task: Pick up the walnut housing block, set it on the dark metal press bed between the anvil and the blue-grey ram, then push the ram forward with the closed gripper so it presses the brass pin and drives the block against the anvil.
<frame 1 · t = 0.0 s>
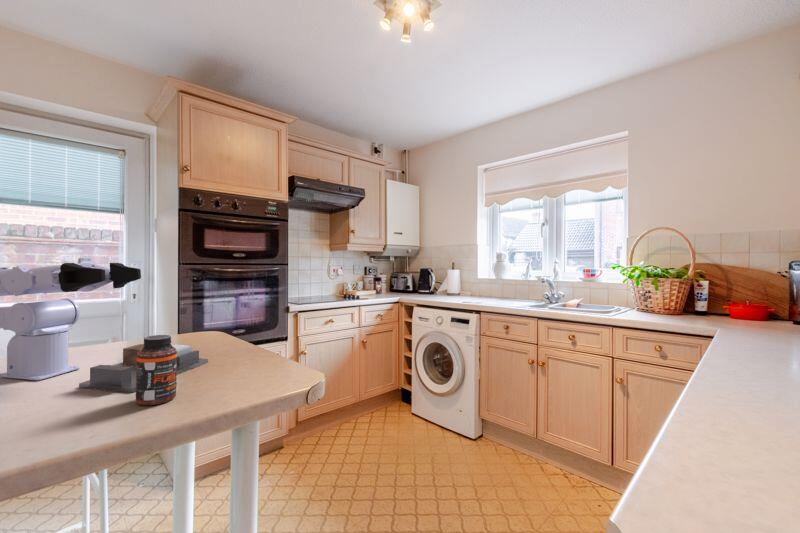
hand: (122, 274, 71), 22 cm above the table, tool horizontal, fingers open, 7 cm apart
ram: (175, 353, 82), point 3 cm above the table, slide at 0.0 cm
housing: (139, 363, 83), on the table
supplement bottle: (156, 401, 62), on the table
press: (151, 373, 76), on the table
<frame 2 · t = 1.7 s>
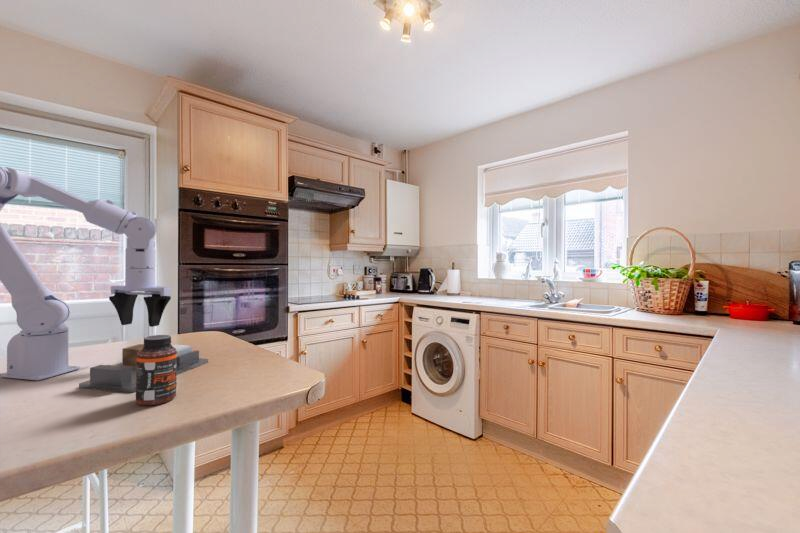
hand: (140, 325, 83), 9 cm above the table, tool pointing down, fingers open, 7 cm apart
nothing on the table moved.
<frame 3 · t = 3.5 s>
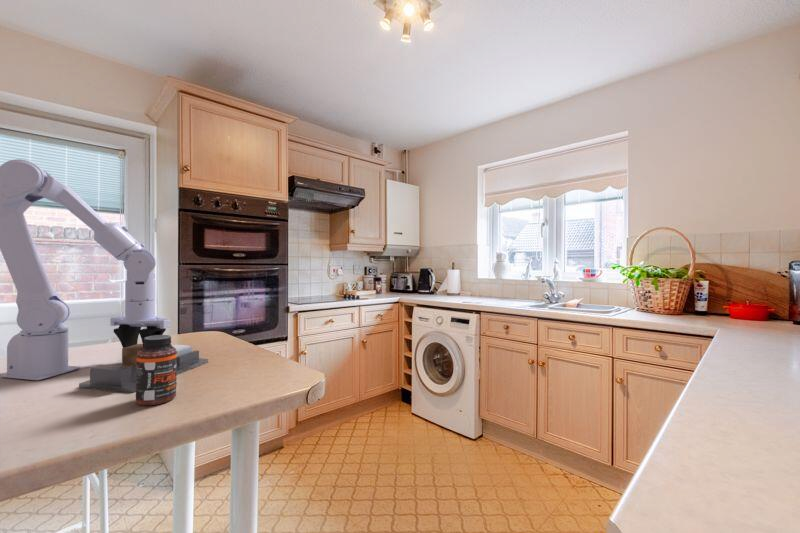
hand: (140, 356, 83), 1 cm above the table, tool pointing down, fingers closed on housing, 4 cm apart
housing: (139, 363, 83), on the table, touching gripper
everything else where it was.
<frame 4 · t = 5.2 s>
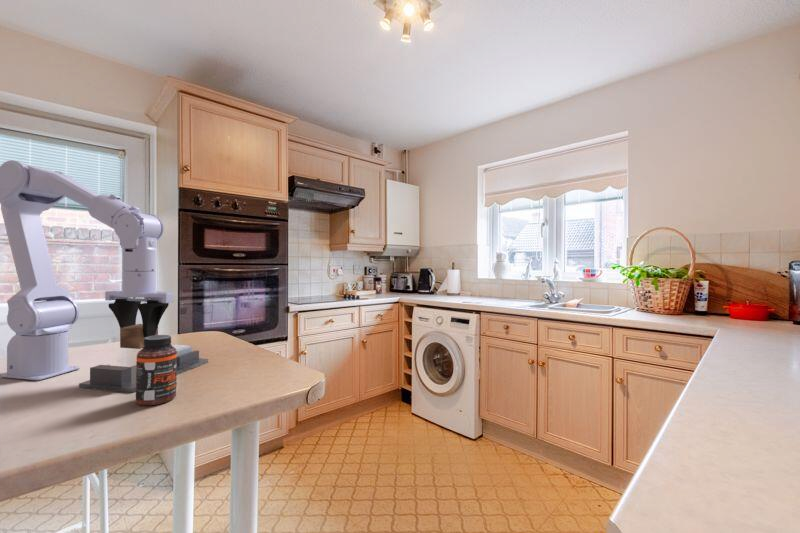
hand: (139, 336, 73), 9 cm above the table, tool pointing down, fingers closed on housing, 4 cm apart
housing: (139, 345, 73), point 7 cm above the table, touching gripper
everything else where it was.
when the fingers open (3 cm above the table, at t = 7.1 s): housing stays where it is, resting on press.
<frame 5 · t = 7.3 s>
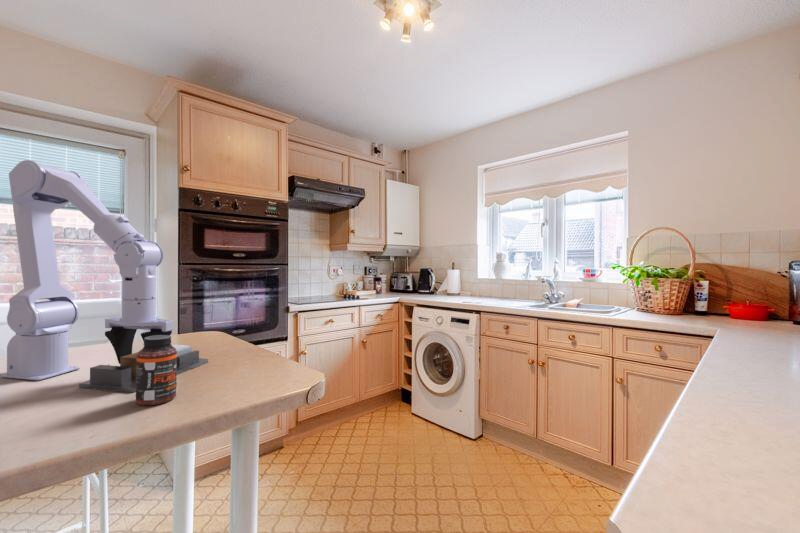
hand: (138, 363, 73), 3 cm above the table, tool pointing down, fingers open, 6 cm apart
housing: (139, 373, 73), point 1 cm above the table, touching press
everything else where it was.
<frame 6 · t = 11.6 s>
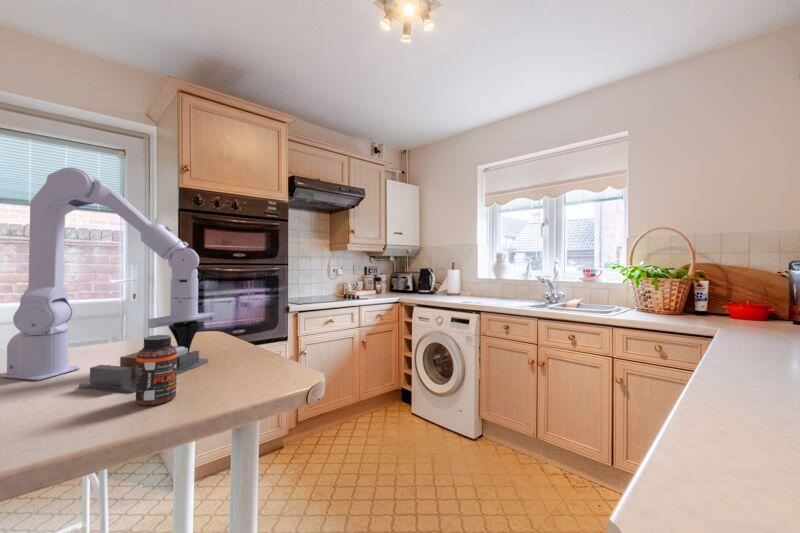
hand: (183, 353, 85), 2 cm above the table, tool pointing down, fingers closed
ram: (170, 355, 81), point 3 cm above the table, slide at 1.3 cm, touching gripper
everything else where it was.
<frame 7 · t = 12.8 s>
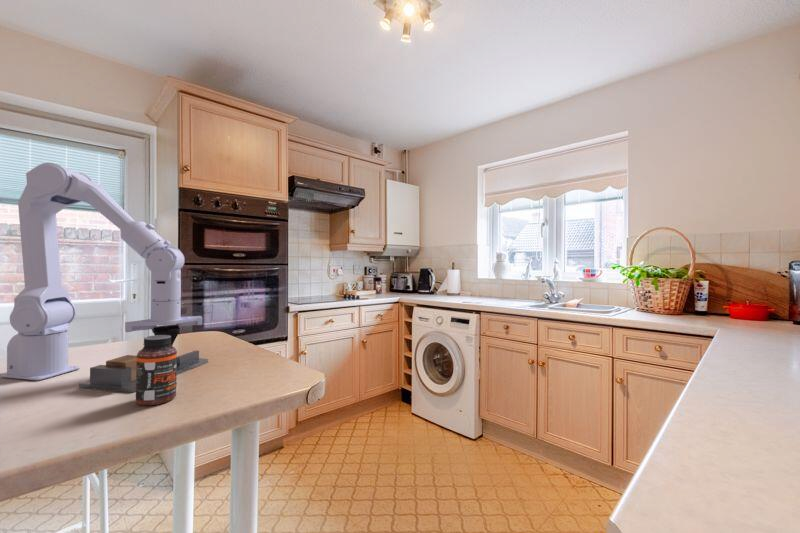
hand: (165, 359, 80), 2 cm above the table, tool pointing down, fingers closed
ram: (151, 361, 76), point 3 cm above the table, slide at 6.5 cm, touching gripper, housing
housing: (126, 378, 70), point 1 cm above the table, touching press, ram
everything else where it was.
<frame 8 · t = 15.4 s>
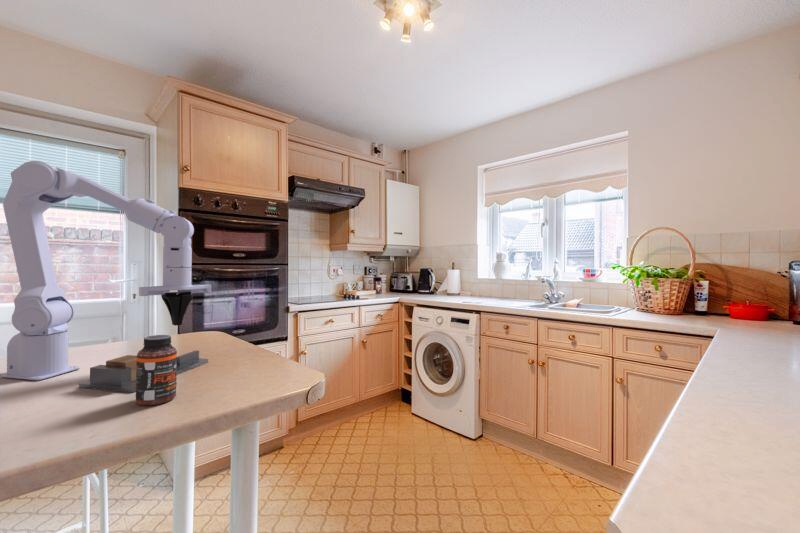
hand: (176, 324, 83), 9 cm above the table, tool pointing down, fingers closed
ram: (151, 361, 76), point 3 cm above the table, slide at 6.5 cm
housing: (126, 378, 70), point 1 cm above the table, touching press
everything else where it was.
at the end: ram slide at 6.5 cm; housing 0.2 cm from the target spot, point 0.8 cm above the table; housing tilted 0° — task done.
